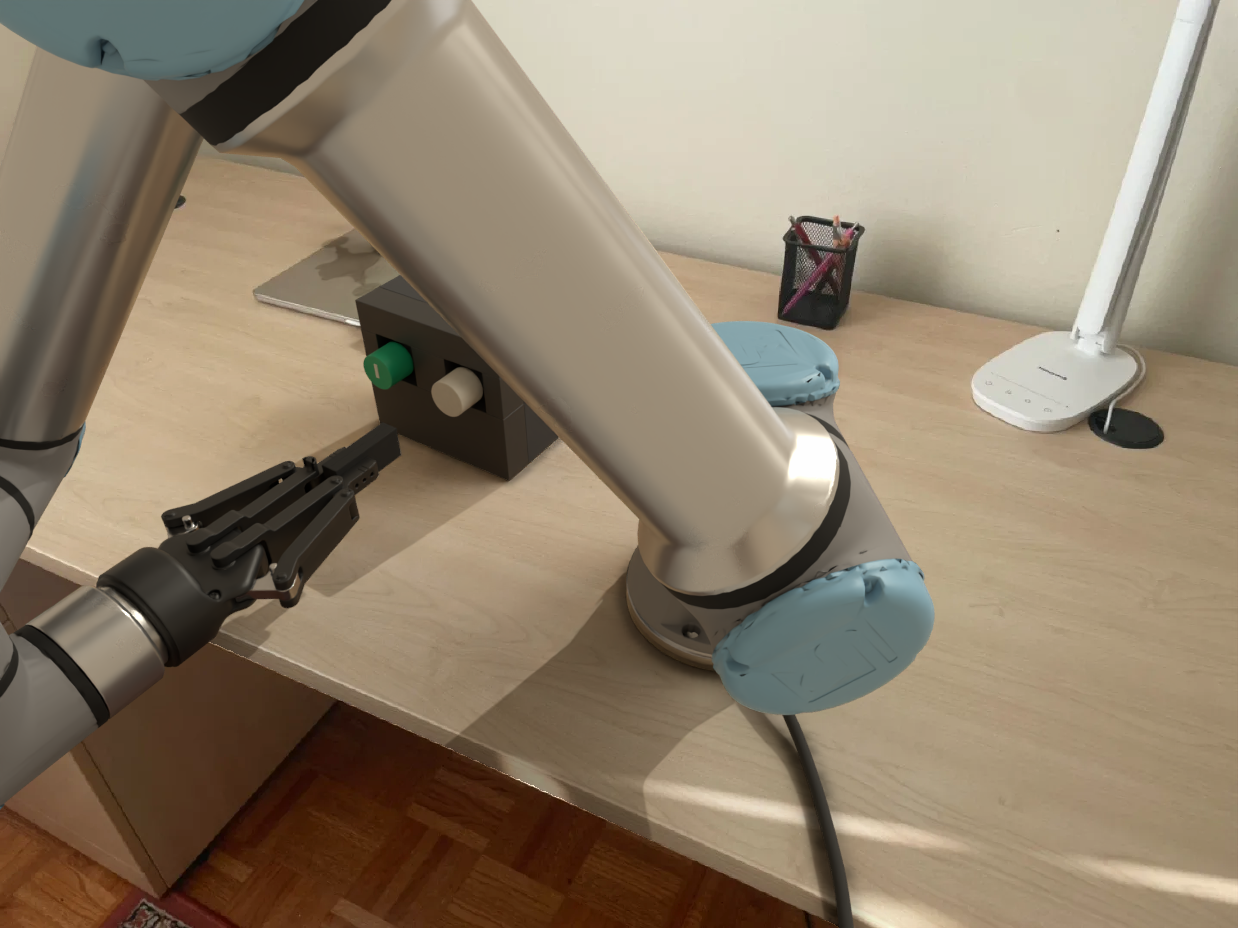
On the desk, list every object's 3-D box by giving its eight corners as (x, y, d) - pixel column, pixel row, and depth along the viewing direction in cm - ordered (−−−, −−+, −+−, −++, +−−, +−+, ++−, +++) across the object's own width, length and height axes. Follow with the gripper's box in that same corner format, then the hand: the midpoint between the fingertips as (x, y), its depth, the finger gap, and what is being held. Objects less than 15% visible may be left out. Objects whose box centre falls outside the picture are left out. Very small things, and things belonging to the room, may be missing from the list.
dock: (509, 481, 83) (496, 349, 74) (380, 426, 90) (354, 299, 81) (559, 437, 88) (552, 309, 80) (433, 388, 95) (415, 265, 86)
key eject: (463, 422, 78) (459, 389, 76) (433, 410, 79) (428, 377, 77) (485, 405, 80) (481, 373, 78) (455, 394, 81) (450, 361, 79)
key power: (393, 394, 81) (387, 362, 79) (366, 383, 83) (359, 351, 80) (416, 379, 83) (411, 347, 81) (388, 368, 85) (383, 337, 82)
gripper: (90, 625, 62) (342, 449, 78) (215, 710, 57) (459, 502, 73) (47, 546, 58) (325, 375, 73) (179, 629, 52) (448, 426, 68)
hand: (391, 438), depth 73 cm, fingers closed
